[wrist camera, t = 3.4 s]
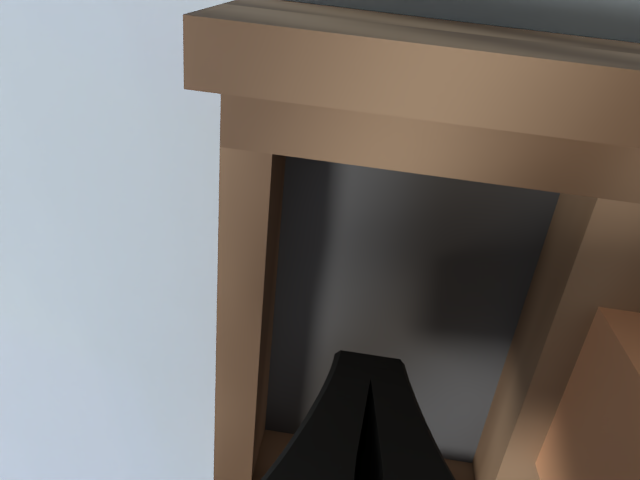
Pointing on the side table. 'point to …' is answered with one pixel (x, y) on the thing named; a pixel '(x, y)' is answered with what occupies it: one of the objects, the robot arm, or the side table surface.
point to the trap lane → (413, 217)
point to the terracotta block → (599, 406)
